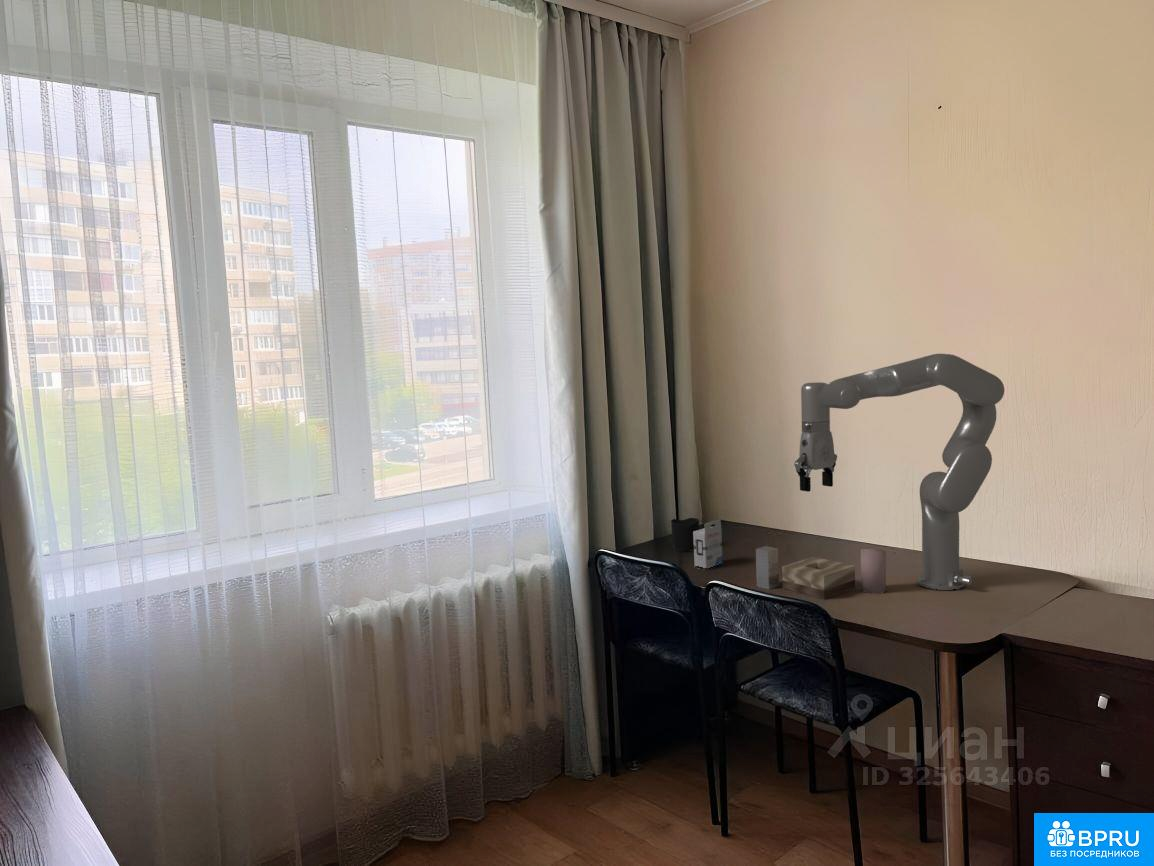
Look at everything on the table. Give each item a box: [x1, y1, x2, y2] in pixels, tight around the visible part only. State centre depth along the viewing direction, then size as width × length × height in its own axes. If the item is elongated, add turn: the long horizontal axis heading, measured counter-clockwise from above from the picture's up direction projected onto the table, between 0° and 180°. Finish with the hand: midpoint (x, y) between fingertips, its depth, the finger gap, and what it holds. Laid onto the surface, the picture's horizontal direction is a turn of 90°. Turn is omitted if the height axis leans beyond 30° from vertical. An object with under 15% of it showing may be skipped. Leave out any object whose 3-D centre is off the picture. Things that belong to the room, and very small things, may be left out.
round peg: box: [860, 547, 887, 594], centre depth 233 cm, size 6×6×11 cm
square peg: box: [755, 545, 780, 590], centre depth 241 cm, size 4×4×11 cm
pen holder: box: [670, 517, 700, 551], centre depth 287 cm, size 9×9×10 cm
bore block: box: [781, 556, 856, 600], centre depth 237 cm, size 14×14×6 cm
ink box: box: [693, 518, 723, 568], centre depth 265 cm, size 8×5×15 cm, turn 133°
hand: (816, 488), depth 235 cm, fingers open, 9 cm apart
